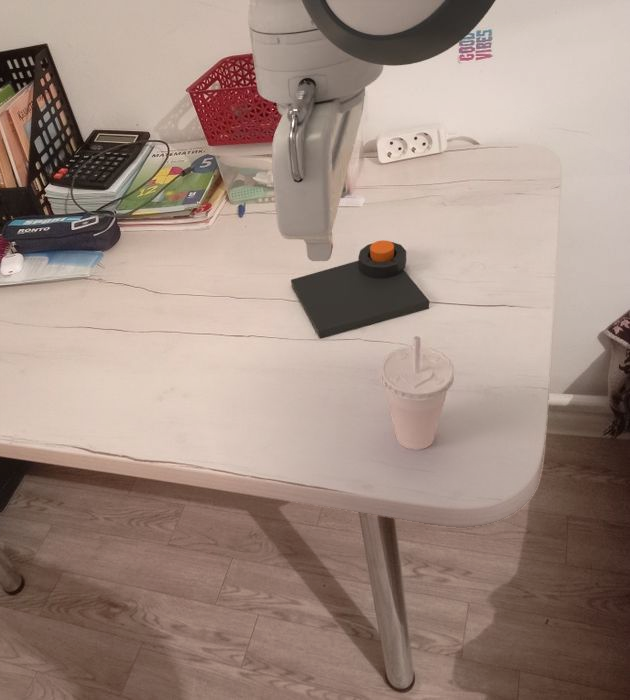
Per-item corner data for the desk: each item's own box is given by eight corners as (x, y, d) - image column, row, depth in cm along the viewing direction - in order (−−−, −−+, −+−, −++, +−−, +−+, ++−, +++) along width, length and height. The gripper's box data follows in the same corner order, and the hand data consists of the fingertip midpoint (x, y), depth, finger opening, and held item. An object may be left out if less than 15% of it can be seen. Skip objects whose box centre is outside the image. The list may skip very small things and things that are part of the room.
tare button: (388, 247, 84) (388, 237, 83) (397, 258, 81) (397, 249, 80) (366, 253, 84) (366, 244, 83) (375, 265, 82) (375, 255, 81)
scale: (394, 255, 86) (394, 236, 84) (436, 306, 77) (437, 286, 75) (290, 284, 87) (288, 267, 85) (319, 338, 78) (317, 320, 76)
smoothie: (378, 455, 63) (374, 356, 54) (385, 408, 67) (383, 309, 58) (447, 464, 60) (455, 361, 51) (450, 415, 64) (459, 312, 55)
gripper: (343, 114, 35) (353, 301, 44) (377, 2, 49) (379, 163, 58) (237, 124, 38) (266, 300, 47) (297, 15, 51) (311, 167, 60)
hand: (329, 223), depth 52 cm, fingers open, 8 cm apart
